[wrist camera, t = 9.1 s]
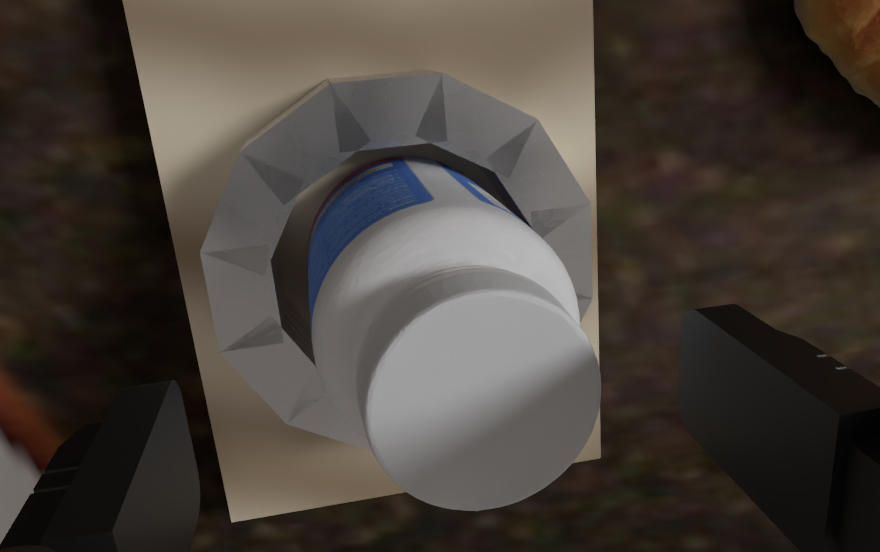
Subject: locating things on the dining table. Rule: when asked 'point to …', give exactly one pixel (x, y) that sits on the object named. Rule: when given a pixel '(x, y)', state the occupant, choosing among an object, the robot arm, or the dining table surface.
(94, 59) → the dining table surface
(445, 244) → the pill bottle
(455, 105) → the ring collar
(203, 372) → the ring plate
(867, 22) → the pastry
